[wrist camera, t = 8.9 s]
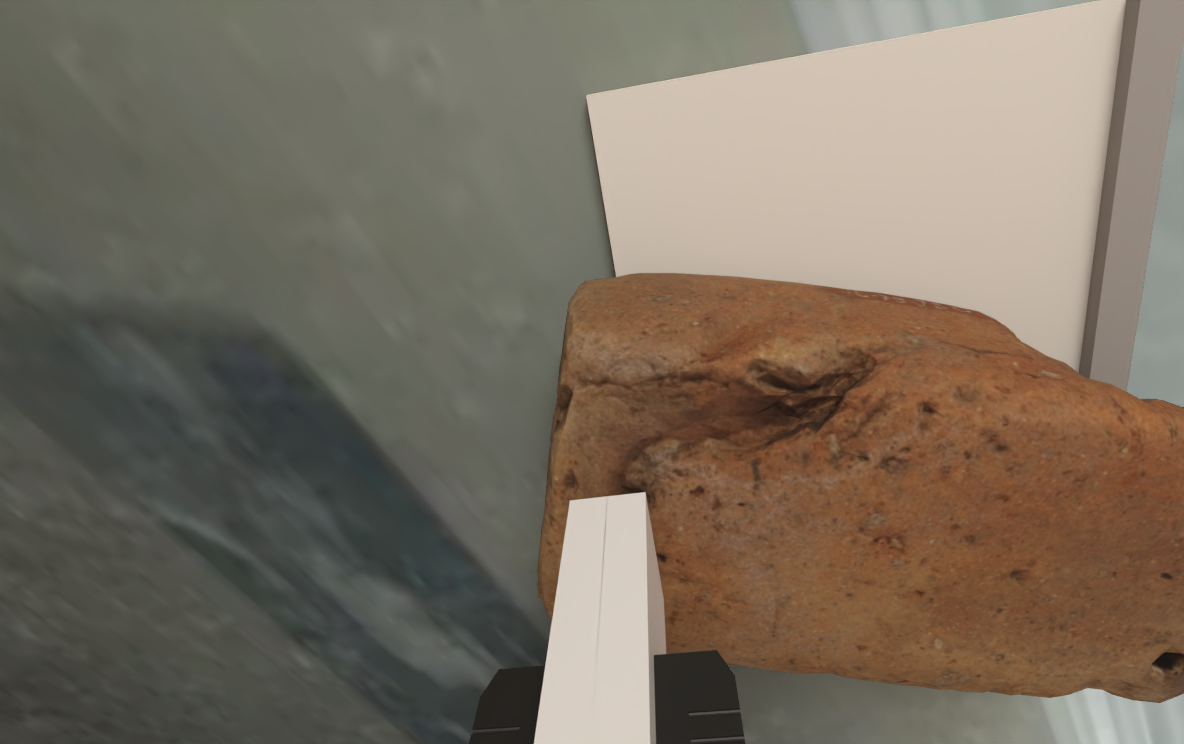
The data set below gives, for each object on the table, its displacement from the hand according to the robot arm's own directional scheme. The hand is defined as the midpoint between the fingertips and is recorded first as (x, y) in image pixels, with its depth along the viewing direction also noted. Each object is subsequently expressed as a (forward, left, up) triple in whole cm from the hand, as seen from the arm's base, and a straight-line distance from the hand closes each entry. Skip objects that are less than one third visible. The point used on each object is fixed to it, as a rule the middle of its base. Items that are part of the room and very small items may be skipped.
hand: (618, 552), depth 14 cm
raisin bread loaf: (-3, -1, -7) cm, 8 cm away
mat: (+8, 0, -11) cm, 14 cm away
